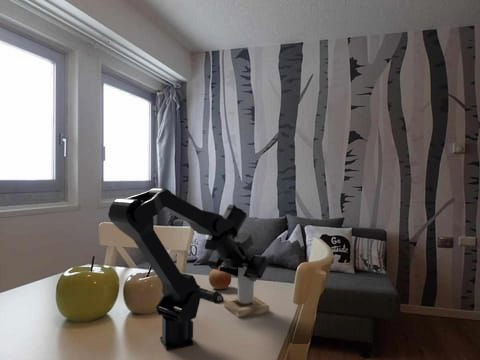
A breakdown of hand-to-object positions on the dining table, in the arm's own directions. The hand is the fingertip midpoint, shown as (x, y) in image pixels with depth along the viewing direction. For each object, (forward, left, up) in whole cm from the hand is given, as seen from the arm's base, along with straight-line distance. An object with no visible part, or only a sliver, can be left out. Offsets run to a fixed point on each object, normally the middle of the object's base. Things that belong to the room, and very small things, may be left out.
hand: (248, 278), depth 109 cm
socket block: (-1, -1, -9) cm, 9 cm away
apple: (0, +21, -9) cm, 23 cm away
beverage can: (-1, 0, -7) cm, 7 cm away
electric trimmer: (-9, +15, -10) cm, 20 cm away
